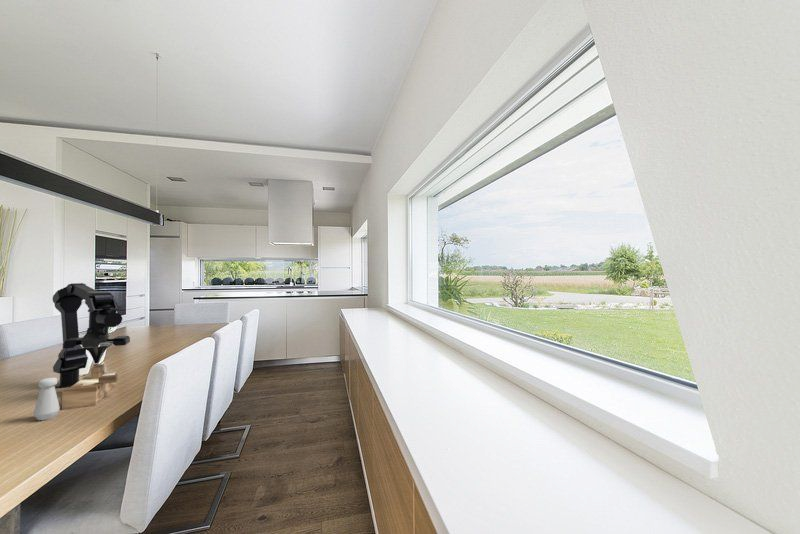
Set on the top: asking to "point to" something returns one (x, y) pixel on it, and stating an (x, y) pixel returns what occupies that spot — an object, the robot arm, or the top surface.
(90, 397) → the toolbox
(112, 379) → the block
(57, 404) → the salt shaker
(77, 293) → the robot arm
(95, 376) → the lid
